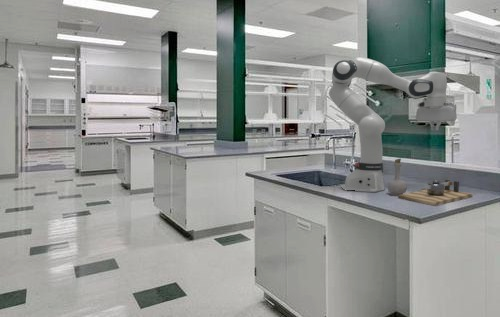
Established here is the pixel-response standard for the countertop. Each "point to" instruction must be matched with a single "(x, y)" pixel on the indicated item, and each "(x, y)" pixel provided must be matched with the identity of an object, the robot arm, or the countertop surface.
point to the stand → (436, 196)
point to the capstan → (436, 187)
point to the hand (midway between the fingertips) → (434, 130)
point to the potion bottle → (397, 181)
